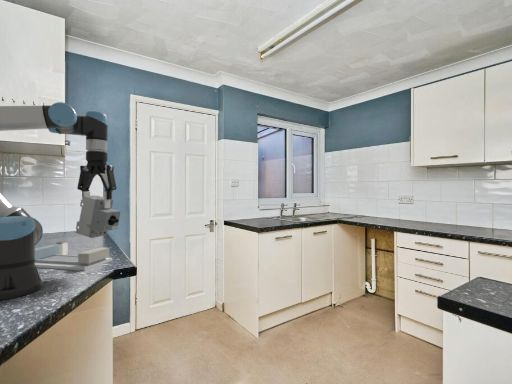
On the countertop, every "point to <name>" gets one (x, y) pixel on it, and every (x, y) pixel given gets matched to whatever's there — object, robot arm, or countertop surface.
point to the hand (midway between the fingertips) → (96, 207)
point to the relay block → (62, 247)
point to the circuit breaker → (96, 217)
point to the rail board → (70, 258)
